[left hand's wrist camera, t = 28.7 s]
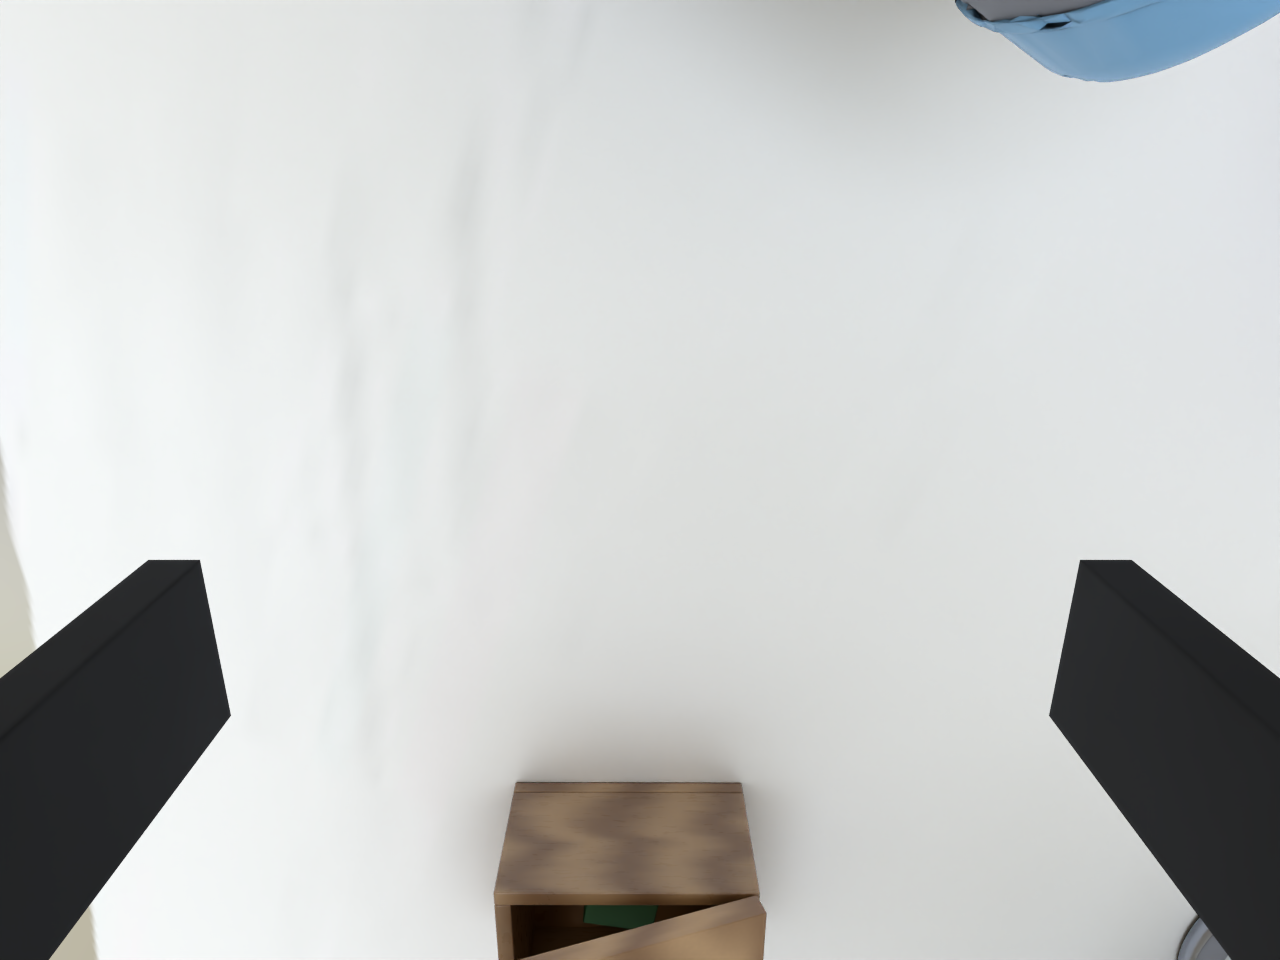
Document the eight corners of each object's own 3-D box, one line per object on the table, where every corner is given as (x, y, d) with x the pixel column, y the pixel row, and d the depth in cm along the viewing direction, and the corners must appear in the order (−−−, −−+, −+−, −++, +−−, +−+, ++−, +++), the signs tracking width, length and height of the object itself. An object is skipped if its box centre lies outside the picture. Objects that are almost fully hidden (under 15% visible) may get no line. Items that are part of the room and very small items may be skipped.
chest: (524, 925, 58) (505, 1050, 49) (515, 782, 53) (493, 892, 45) (733, 925, 58) (749, 1050, 50) (741, 782, 53) (760, 893, 45)
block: (582, 923, 51) (651, 932, 51) (593, 869, 49) (665, 879, 50) (586, 868, 55) (651, 877, 55) (597, 816, 53) (663, 826, 54)
